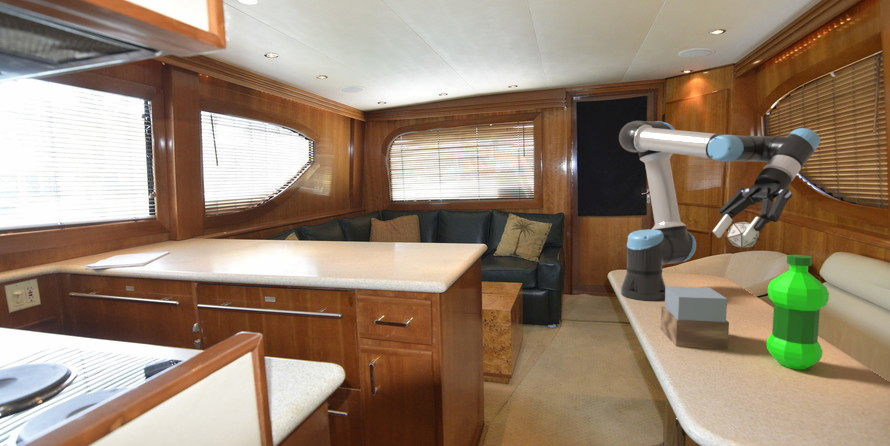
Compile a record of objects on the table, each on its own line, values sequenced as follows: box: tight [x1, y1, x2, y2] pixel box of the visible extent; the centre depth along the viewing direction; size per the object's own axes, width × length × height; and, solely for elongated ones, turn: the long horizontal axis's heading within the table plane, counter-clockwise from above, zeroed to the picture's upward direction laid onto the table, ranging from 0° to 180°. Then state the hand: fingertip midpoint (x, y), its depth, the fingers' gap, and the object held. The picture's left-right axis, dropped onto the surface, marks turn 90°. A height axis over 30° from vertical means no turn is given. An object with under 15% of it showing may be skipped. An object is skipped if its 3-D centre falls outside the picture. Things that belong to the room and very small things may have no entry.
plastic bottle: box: [766, 254, 830, 370], centre depth 97 cm, size 10×10×25 cm
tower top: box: [664, 285, 728, 322], centre depth 113 cm, size 11×11×6 cm
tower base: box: [660, 306, 730, 350], centre depth 114 cm, size 12×12×7 cm
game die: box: [723, 219, 763, 252], centre depth 118 cm, size 9×8×10 cm
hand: (730, 236), depth 117 cm, fingers closed on game die, 8 cm apart
